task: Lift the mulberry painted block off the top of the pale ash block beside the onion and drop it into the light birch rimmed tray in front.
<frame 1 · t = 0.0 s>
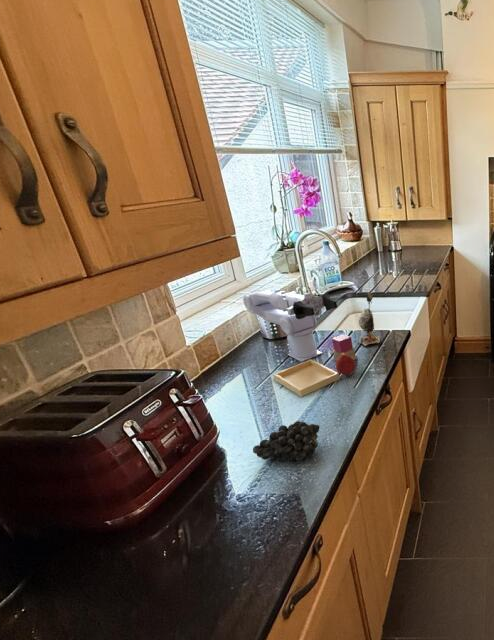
hand: (324, 308, 124), 22 cm above the table, tool horizontal, fingers open, 7 cm apart
fruit: (290, 455, 94), on the table
ash block: (345, 359, 139), on the table, touching mulberry block
tray: (307, 379, 127), on the table
onion: (347, 376, 129), on the table
grey figurine: (369, 341, 154), on the table
mulberry block: (343, 349, 138), point 4 cm above the table, touching ash block
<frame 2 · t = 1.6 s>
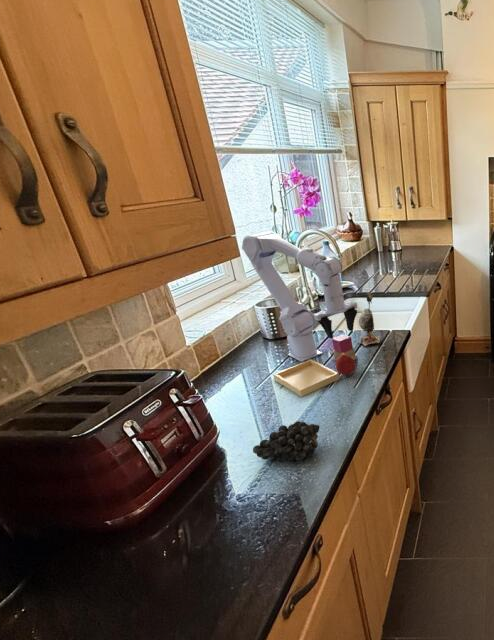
hand: (340, 333, 135), 10 cm above the table, tool pointing down, fingers open, 7 cm apart
nothing on the table moved.
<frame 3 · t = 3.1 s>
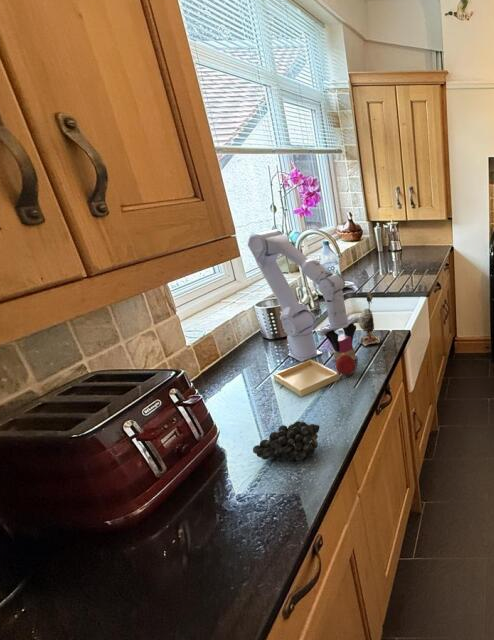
hand: (343, 347, 137), 5 cm above the table, tool pointing down, fingers closed on mulberry block, 4 cm apart
mulberry block: (343, 349, 138), point 4 cm above the table, touching ash block, gripper
everything else where it was.
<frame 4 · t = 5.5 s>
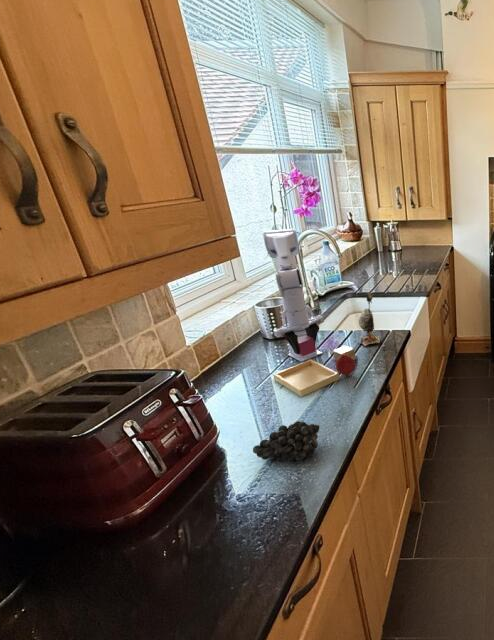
hand: (305, 350, 124), 10 cm above the table, tool pointing down, fingers closed on mulberry block, 4 cm apart
ash block: (345, 359, 139), on the table
mulberry block: (305, 352, 125), point 9 cm above the table, touching gripper
everything else where it was.
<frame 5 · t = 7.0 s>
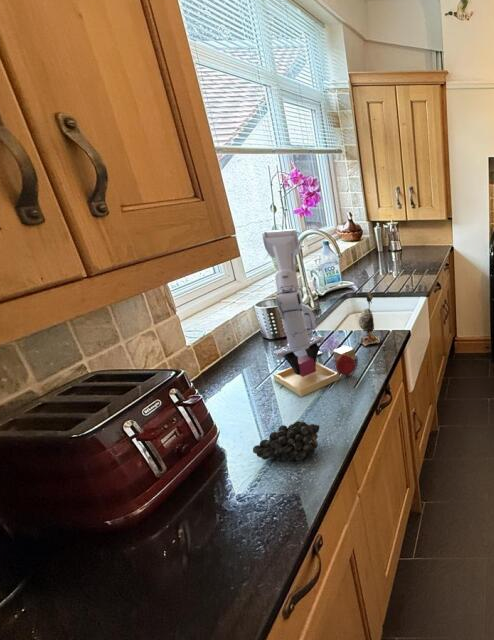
hand: (305, 370, 126), 3 cm above the table, tool pointing down, fingers closed on mulberry block, 4 cm apart
mulberry block: (305, 372, 126), point 3 cm above the table, touching gripper
everything else where it was.
when the fingers open (1 cm above the table, at t = 8.1 s): mulberry block stays where it is, resting on tray.
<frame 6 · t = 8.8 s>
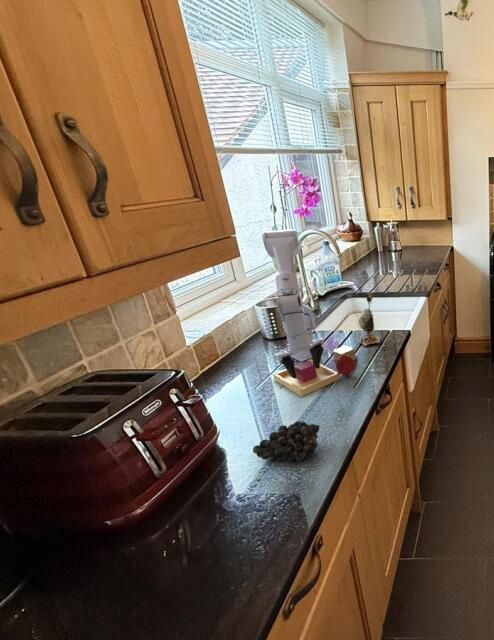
hand: (305, 372, 126), 3 cm above the table, tool pointing down, fingers open, 7 cm apart
mulberry block: (306, 377, 127), point 1 cm above the table, touching tray
everything else where it was.
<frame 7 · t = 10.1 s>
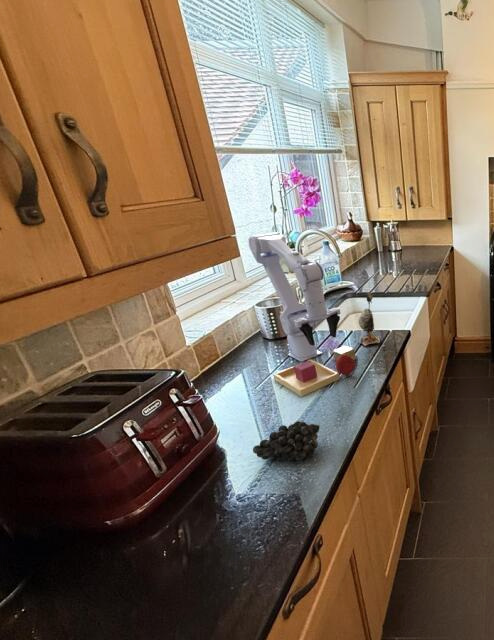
hand: (322, 340, 132), 9 cm above the table, tool pointing down, fingers open, 7 cm apart
nothing on the table moved.
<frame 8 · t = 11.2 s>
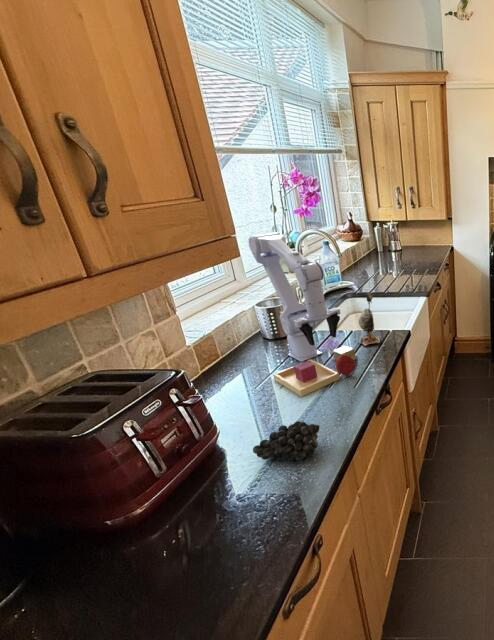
hand: (322, 340, 132), 9 cm above the table, tool pointing down, fingers open, 7 cm apart
nothing on the table moved.
at the end: mulberry block inside the target area in the tray (0.1 cm from its centre), point 0.6 cm above the tray's base; ash block moved 0.0 cm from its start; the gripper is holding nothing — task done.
